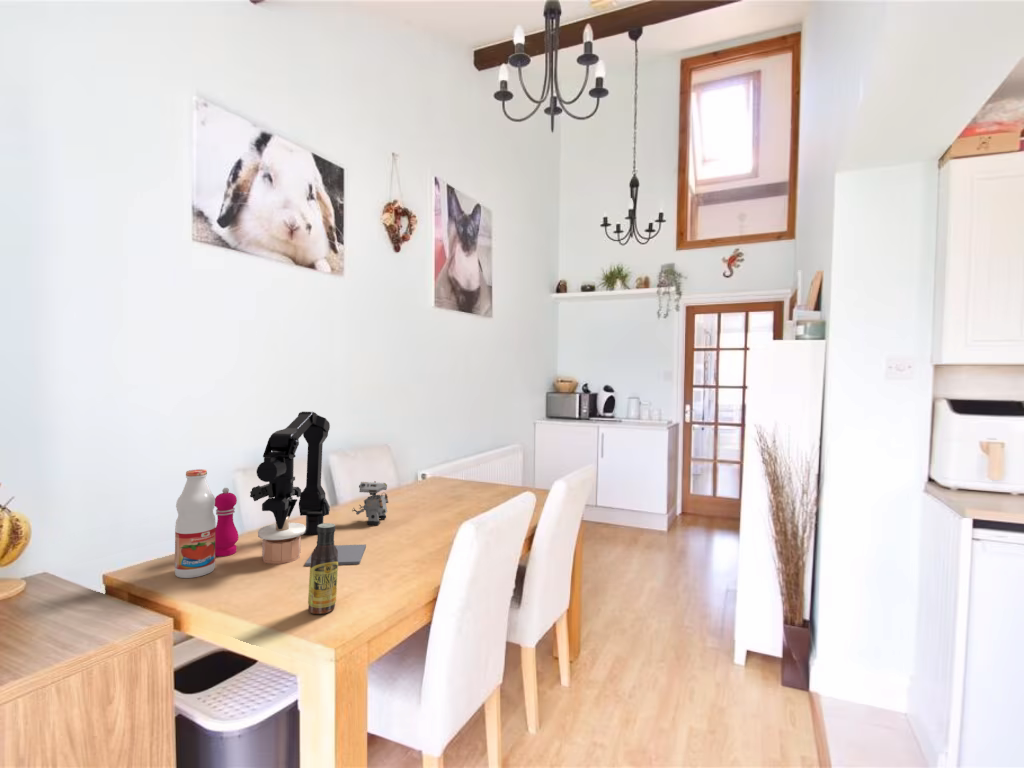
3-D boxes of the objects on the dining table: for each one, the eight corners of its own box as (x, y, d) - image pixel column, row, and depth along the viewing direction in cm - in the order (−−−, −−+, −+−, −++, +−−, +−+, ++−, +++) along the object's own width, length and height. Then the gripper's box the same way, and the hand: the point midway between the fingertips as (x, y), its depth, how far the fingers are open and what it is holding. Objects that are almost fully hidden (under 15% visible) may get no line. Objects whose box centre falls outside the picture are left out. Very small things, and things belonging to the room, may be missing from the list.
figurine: (361, 517, 195) (361, 479, 195) (390, 519, 194) (390, 480, 194) (351, 524, 186) (352, 484, 186) (382, 526, 185) (382, 485, 185)
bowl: (268, 553, 155) (269, 533, 155) (303, 551, 157) (303, 532, 157) (257, 565, 145) (258, 544, 145) (295, 563, 147) (295, 543, 147)
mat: (316, 548, 160) (317, 545, 160) (365, 546, 162) (366, 544, 162) (305, 566, 145) (305, 563, 145) (359, 564, 148) (359, 561, 148)
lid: (266, 527, 157) (266, 511, 157) (310, 525, 159) (310, 511, 159) (251, 540, 144) (251, 524, 144) (299, 539, 146) (299, 523, 146)
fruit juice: (204, 563, 146) (206, 466, 145) (221, 570, 140) (222, 470, 140) (168, 573, 138) (169, 471, 137) (184, 581, 133) (185, 475, 132)
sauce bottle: (311, 618, 114) (313, 531, 114) (304, 608, 119) (306, 524, 119) (341, 611, 118) (342, 526, 118) (333, 601, 123) (334, 520, 123)
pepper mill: (226, 558, 150) (227, 491, 150) (205, 556, 151) (206, 489, 151) (243, 550, 157) (244, 486, 157) (223, 548, 159) (224, 484, 158)
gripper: (264, 469, 159) (263, 518, 159) (242, 481, 140) (241, 537, 141) (301, 469, 161) (301, 517, 161) (285, 481, 142) (284, 536, 142)
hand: (282, 526), depth 151 cm, fingers closed on lid, 4 cm apart
